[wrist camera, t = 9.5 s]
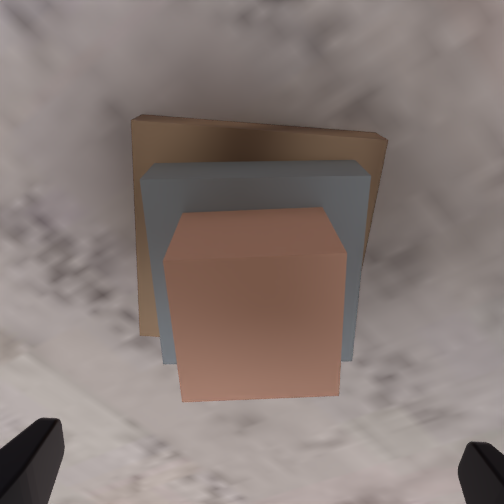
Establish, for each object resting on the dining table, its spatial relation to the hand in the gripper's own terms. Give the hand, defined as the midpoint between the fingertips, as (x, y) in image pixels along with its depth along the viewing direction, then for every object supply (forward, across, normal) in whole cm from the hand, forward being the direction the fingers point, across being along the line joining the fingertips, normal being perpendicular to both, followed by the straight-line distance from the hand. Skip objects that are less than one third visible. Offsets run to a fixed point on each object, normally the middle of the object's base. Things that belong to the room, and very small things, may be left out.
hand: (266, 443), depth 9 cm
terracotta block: (+8, 0, 0) cm, 8 cm away
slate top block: (+10, 0, 0) cm, 10 cm away
